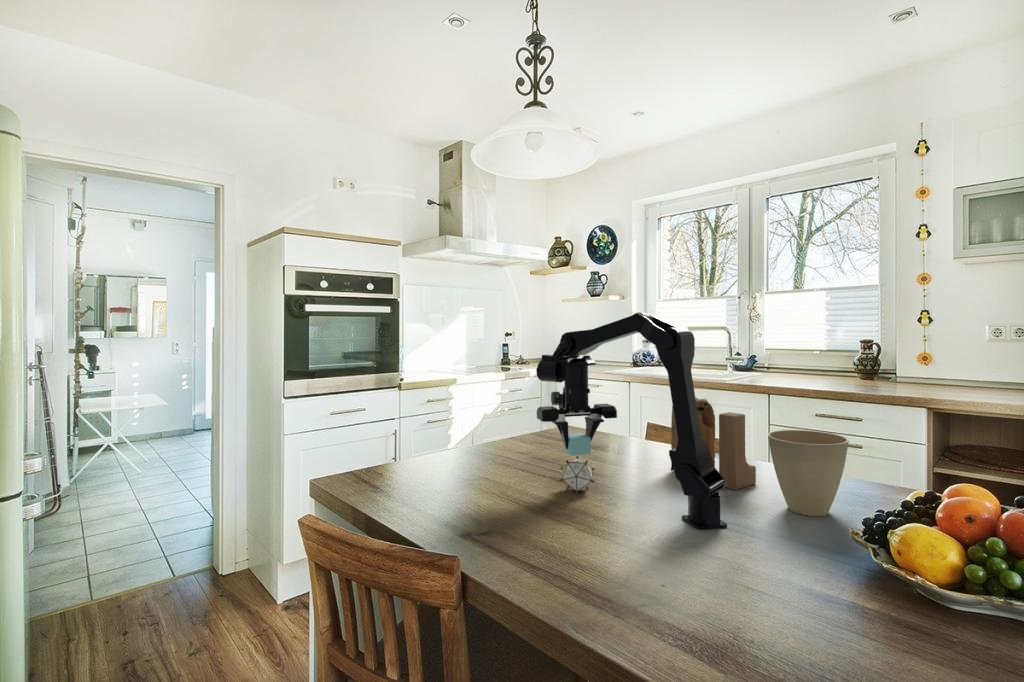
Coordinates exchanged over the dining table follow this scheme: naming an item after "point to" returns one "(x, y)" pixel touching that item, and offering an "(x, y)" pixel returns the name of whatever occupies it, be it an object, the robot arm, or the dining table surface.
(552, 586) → the dining table surface
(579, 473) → the game die
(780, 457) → the plant pot
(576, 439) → the teal block
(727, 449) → the wooden block
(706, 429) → the wooden upright piece
